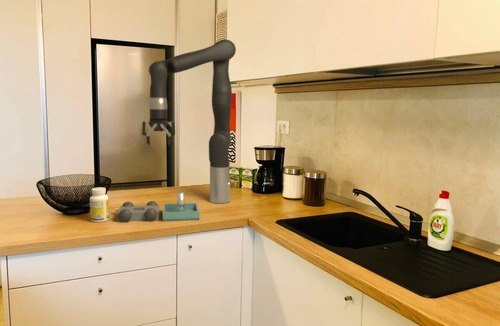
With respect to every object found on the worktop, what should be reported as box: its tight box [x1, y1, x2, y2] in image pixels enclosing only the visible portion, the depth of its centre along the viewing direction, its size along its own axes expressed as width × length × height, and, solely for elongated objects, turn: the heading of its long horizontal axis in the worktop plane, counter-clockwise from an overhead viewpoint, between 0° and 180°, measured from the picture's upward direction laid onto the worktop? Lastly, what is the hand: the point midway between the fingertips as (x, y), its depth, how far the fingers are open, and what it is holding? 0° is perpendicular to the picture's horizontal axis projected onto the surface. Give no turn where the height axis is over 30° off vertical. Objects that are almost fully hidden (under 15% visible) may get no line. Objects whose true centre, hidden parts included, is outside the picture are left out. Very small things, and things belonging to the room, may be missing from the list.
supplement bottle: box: [89, 186, 110, 223], centre depth 164 cm, size 7×7×13 cm
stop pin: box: [176, 191, 186, 212], centre depth 172 cm, size 3×3×9 cm
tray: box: [162, 202, 200, 222], centre depth 173 cm, size 15×15×4 cm
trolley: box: [114, 200, 160, 223], centre depth 169 cm, size 18×14×5 cm
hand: (158, 144), depth 183 cm, fingers open, 8 cm apart
